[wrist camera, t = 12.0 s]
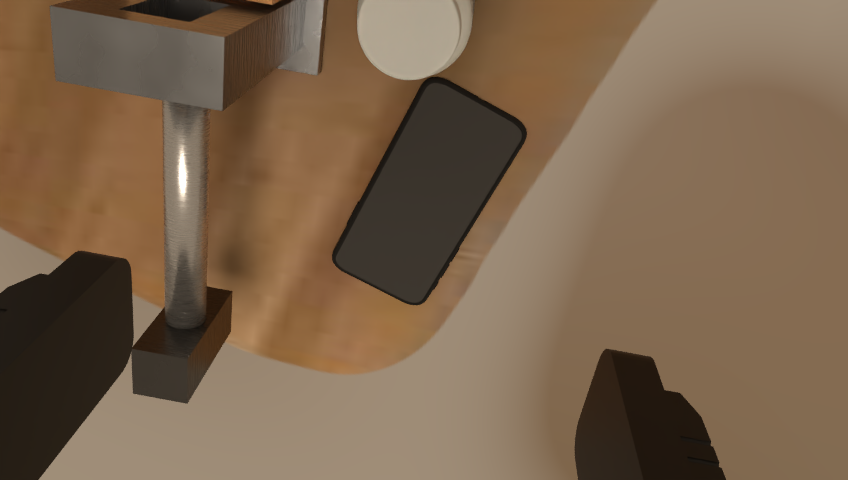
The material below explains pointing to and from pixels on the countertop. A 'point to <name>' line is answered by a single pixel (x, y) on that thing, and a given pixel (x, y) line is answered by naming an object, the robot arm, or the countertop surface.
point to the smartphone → (428, 190)
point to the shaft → (183, 268)
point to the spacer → (266, 1)
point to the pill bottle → (413, 34)
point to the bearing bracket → (185, 46)
